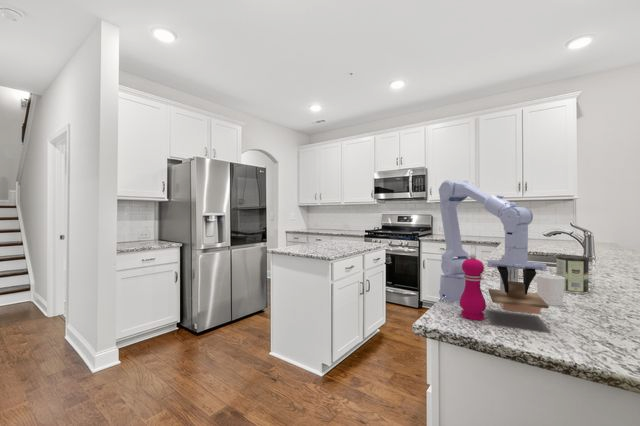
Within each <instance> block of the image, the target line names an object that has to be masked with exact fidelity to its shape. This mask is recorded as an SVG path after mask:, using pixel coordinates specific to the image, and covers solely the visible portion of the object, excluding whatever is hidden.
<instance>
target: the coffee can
mask: <svg viewBox="0 0 640 426" xmlns="http://www.w3.org/2000/svg"><path fill="white" fill-rule="evenodd" d="M555 257H556V275H558V276H562V277H565V284H564V293H568V294H569V293H570V294H575V295H576V294H577V295H588V294H589V293H590V292H589V262H590V261H589V260H590V257H588V256H583V255H576V254H557V255H555Z"/></svg>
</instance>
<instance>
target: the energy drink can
mask: <svg viewBox="0 0 640 426" xmlns="http://www.w3.org/2000/svg"><path fill="white" fill-rule="evenodd" d="M500 260H505V254H502V256H501V258H500ZM514 267H516V266H514ZM507 269H508V272H509V274H508V281H513V282H519V269H515V268H507ZM499 276H500V278H499V290H505V289H504V284H503V281H502V278H501V275H500V274H499Z"/></svg>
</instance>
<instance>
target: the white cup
mask: <svg viewBox="0 0 640 426" xmlns="http://www.w3.org/2000/svg"><path fill="white" fill-rule="evenodd" d="M564 284H565V277H562V276H558V275H557V274H551V273H538V274H537V273H536V289H537V294H538V295H539V296H540V297H541V298H542V299H543V300H544V301H545V302H546V303H547V305H548V306H551V307H552V306H553V307H560V306H561V307H563V304H564V296H565V295H564V294H565V292H564Z"/></svg>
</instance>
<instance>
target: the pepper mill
mask: <svg viewBox="0 0 640 426" xmlns="http://www.w3.org/2000/svg"><path fill="white" fill-rule="evenodd" d="M462 269H463V271H464V272H465V274H464V279H465V289H464V291H463V294H462V296H461V298H460V302H459V306H460V308H461V309H462V310H461V313H460V314H461V315H460V316H461V317H463V318H464V319H467V320H471V321H483V320H484V319H485V314H484V311H486V310H487V305H486V304H487V303H486V300H485V297H484V294H483V292H482V289H481V281H482V280H483V279H482V277H483V276H482V274H483V272H484V270H485V267H484V263H483V262H482V261H480V260H479V259H477V255H476V253H475V254H474V253H470V255H469V259H467V260H465V261H464V262H463V264H462Z"/></svg>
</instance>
